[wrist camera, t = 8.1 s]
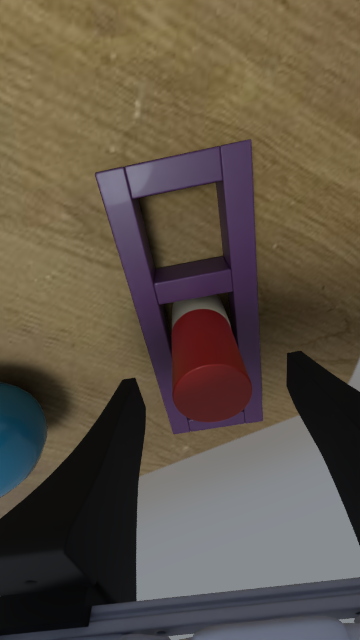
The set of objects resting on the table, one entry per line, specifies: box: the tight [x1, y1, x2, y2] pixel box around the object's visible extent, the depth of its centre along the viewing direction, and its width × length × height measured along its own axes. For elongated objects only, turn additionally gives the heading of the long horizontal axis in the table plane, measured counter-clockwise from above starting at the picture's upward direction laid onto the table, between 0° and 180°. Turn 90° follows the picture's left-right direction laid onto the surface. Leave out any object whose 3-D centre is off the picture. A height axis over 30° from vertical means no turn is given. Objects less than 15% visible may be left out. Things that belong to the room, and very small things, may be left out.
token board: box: [95, 139, 263, 434], centre depth 18 cm, size 7×19×2 cm, turn 10°
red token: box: [171, 309, 253, 422], centre depth 14 cm, size 4×4×5 cm
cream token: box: [172, 294, 231, 329], centre depth 18 cm, size 4×4×3 cm
